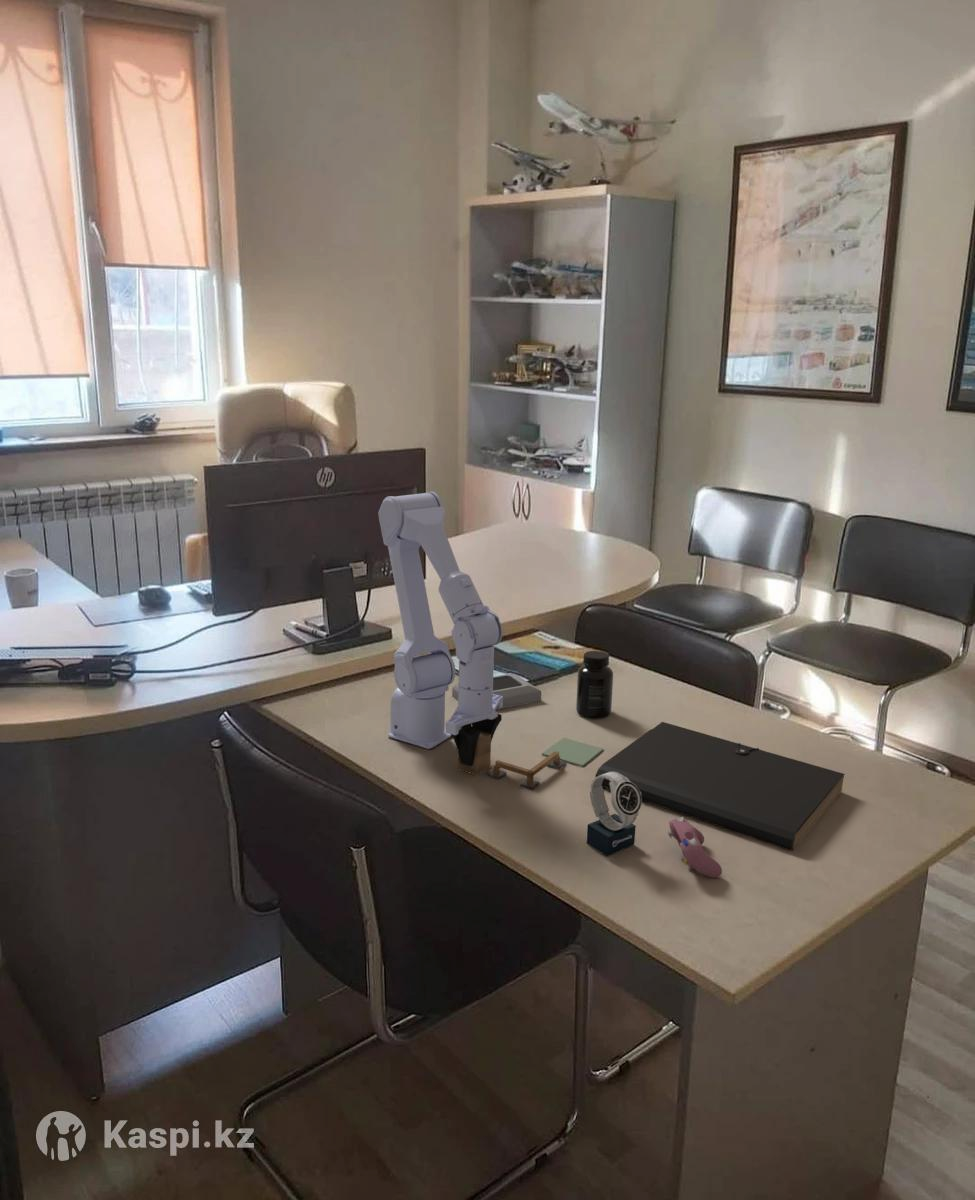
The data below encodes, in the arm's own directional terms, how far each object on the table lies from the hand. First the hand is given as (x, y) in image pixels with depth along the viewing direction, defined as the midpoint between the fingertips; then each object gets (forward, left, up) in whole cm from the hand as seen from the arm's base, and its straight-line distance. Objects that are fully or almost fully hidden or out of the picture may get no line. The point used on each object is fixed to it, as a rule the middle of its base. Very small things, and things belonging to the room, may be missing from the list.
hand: (474, 759), depth 166 cm
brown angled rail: (+8, +4, -2) cm, 9 cm away
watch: (+30, -9, -2) cm, 31 cm away
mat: (+11, +15, -2) cm, 19 cm away
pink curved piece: (+41, -6, -2) cm, 42 cm away
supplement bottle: (+6, +33, -2) cm, 34 cm away
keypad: (-13, +28, -2) cm, 31 cm away
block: (0, 0, -2) cm, 2 cm away
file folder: (+37, +17, -2) cm, 41 cm away
